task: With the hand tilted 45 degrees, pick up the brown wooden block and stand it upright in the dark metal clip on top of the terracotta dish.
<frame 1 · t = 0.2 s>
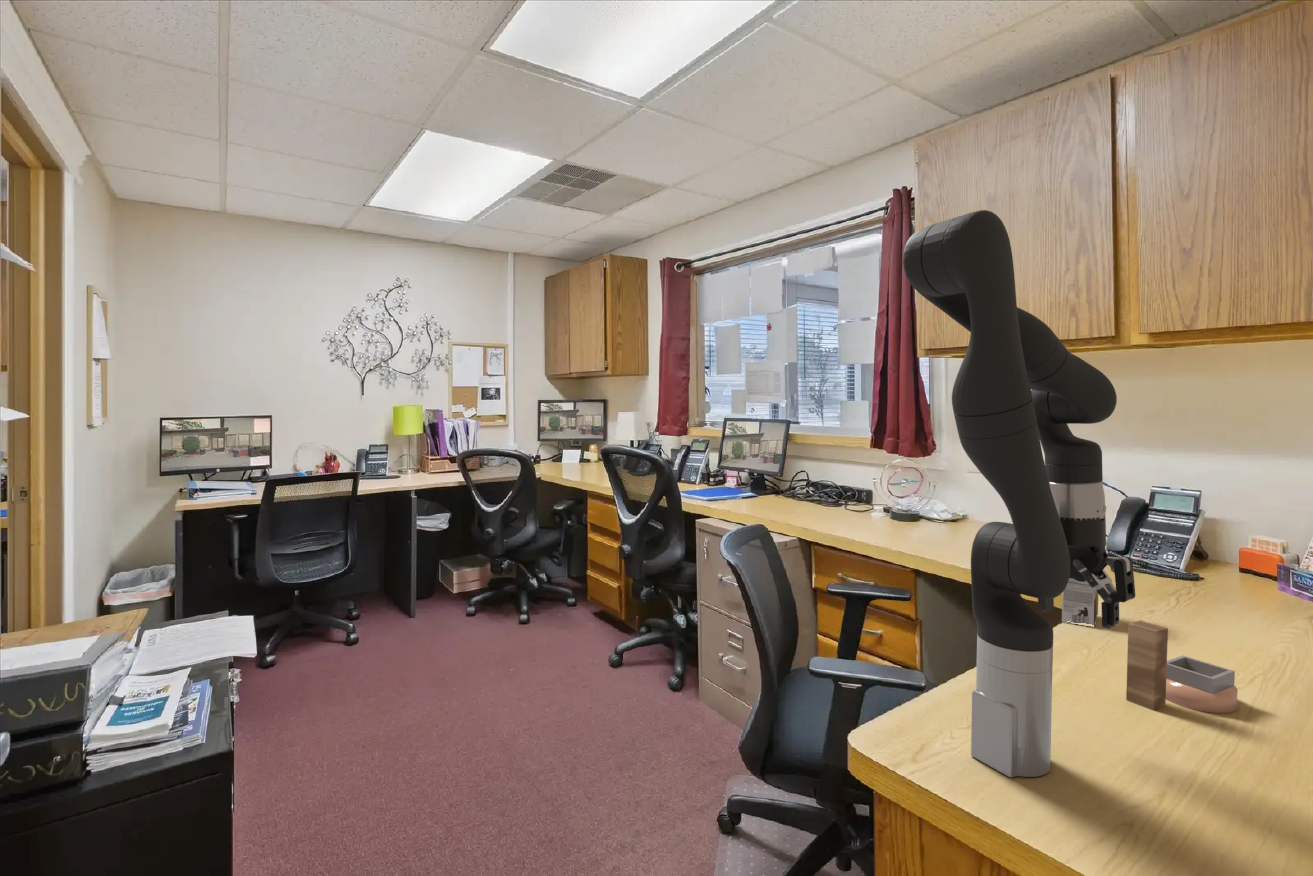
hand: (1077, 618, 94), 18 cm above the table, tool pointing down, fingers open, 8 cm apart
brown wooden block: (1145, 702, 104), on the table
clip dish: (1196, 698, 106), on the table
coffee box: (1079, 620, 144), on the table
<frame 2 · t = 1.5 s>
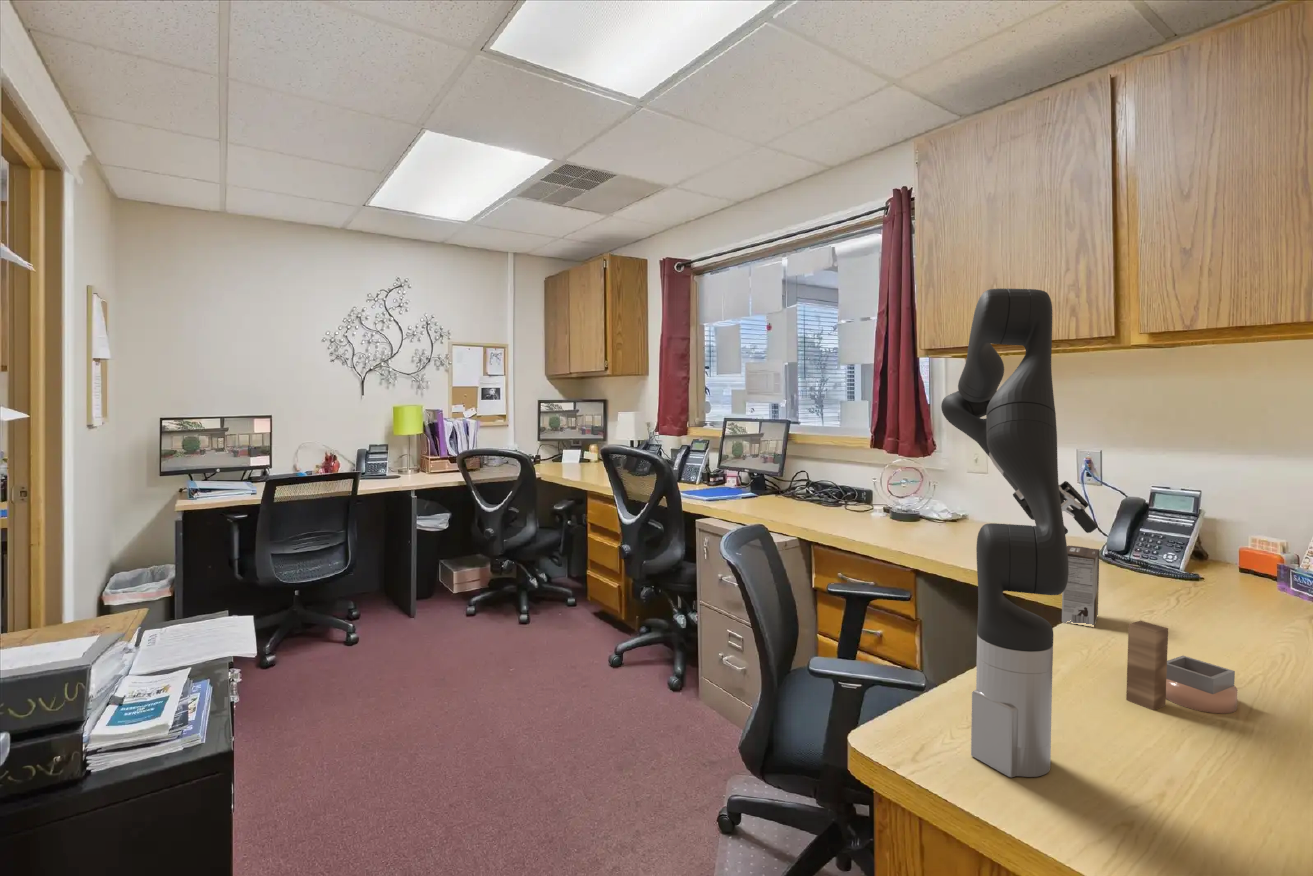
hand: (1078, 532, 113), 26 cm above the table, tool tilted 45°, fingers open, 8 cm apart
nothing on the table moved.
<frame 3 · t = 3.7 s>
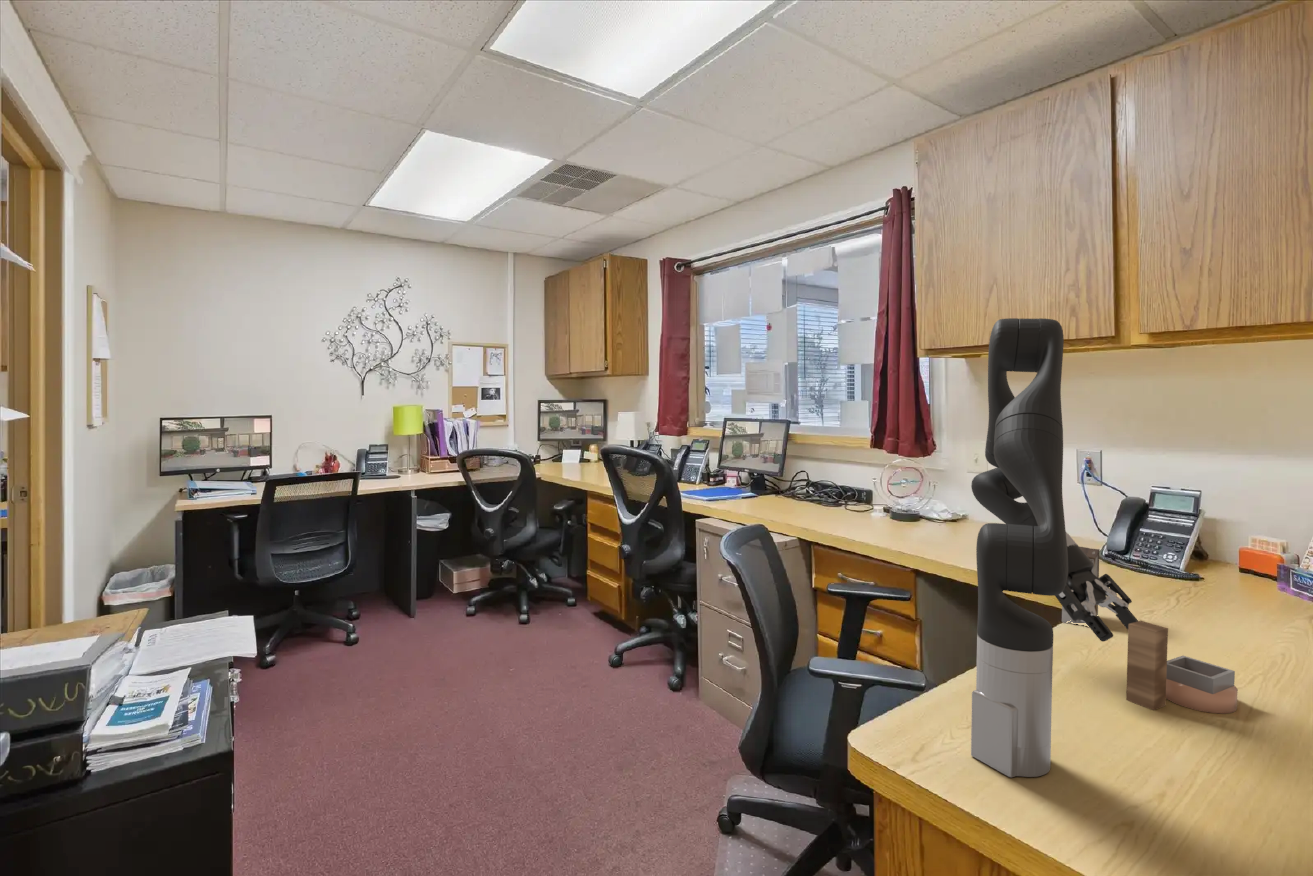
hand: (1123, 635, 107), 10 cm above the table, tool tilted 45°, fingers open, 8 cm apart
nothing on the table moved.
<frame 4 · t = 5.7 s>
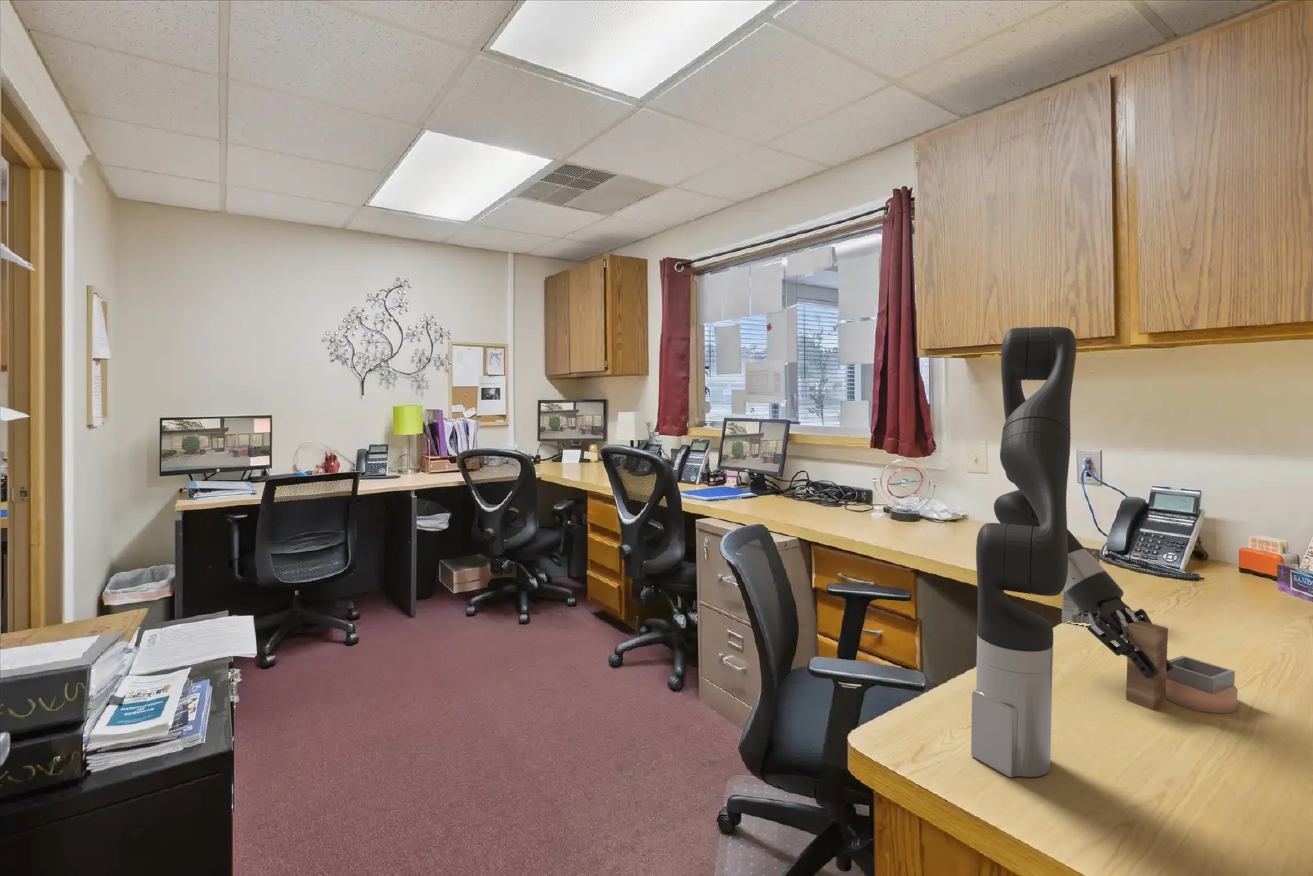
hand: (1160, 673, 102), 6 cm above the table, tool tilted 45°, fingers closed on brown wooden block, 3 cm apart
brown wooden block: (1145, 702, 104), on the table, touching gripper
everything else where it was.
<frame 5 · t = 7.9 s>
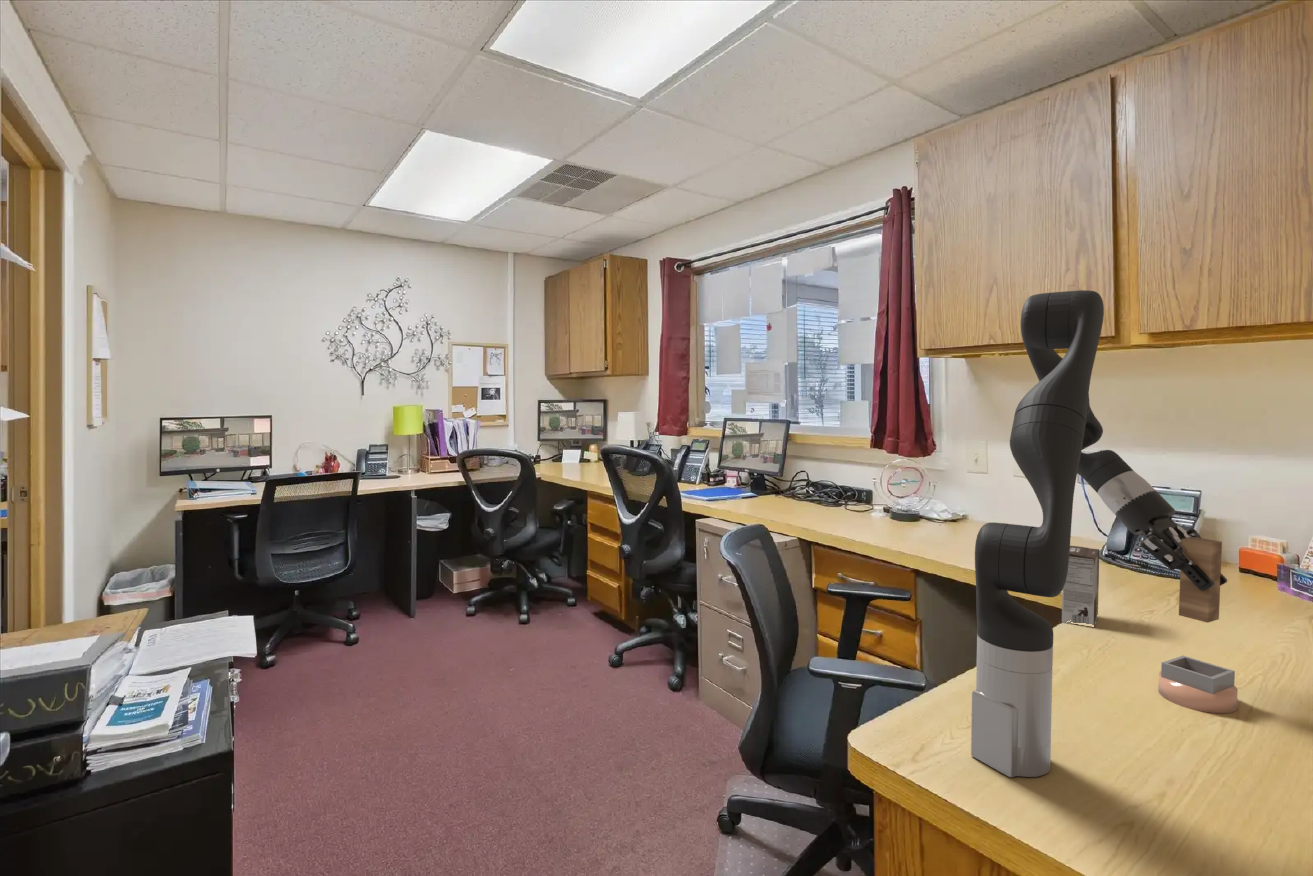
hand: (1214, 586, 103), 20 cm above the table, tool tilted 45°, fingers closed on brown wooden block, 3 cm apart
brown wooden block: (1198, 617, 105), point 14 cm above the table, touching gripper
everything else where it was.
when the fingers open (10 cm above the table, at t = 10.4 s): brown wooden block drops 1 cm, resting on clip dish.
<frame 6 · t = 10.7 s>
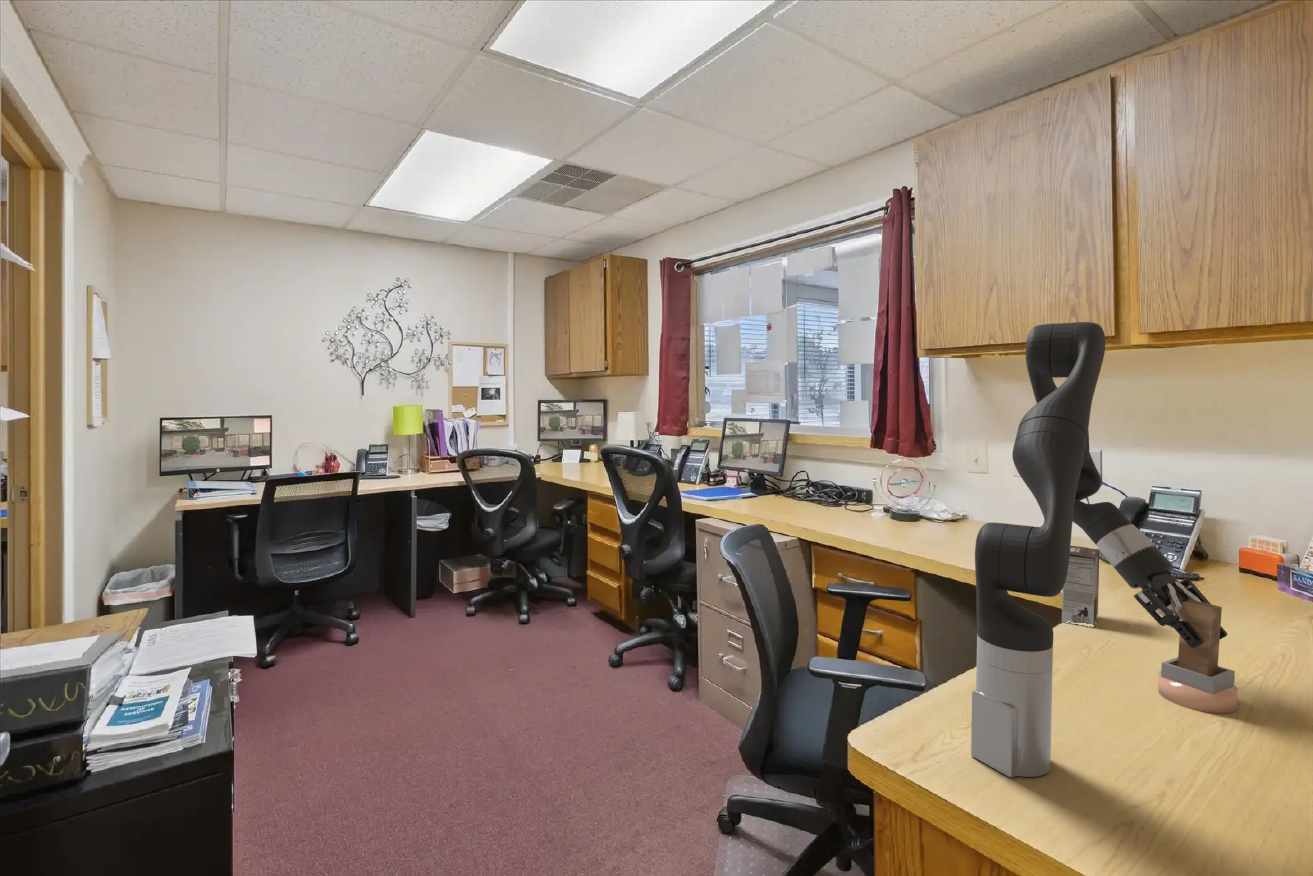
hand: (1210, 641, 104), 10 cm above the table, tool tilted 45°, fingers open, 6 cm apart
brown wooden block: (1196, 680, 105), point 3 cm above the table, touching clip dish
everything else where it was.
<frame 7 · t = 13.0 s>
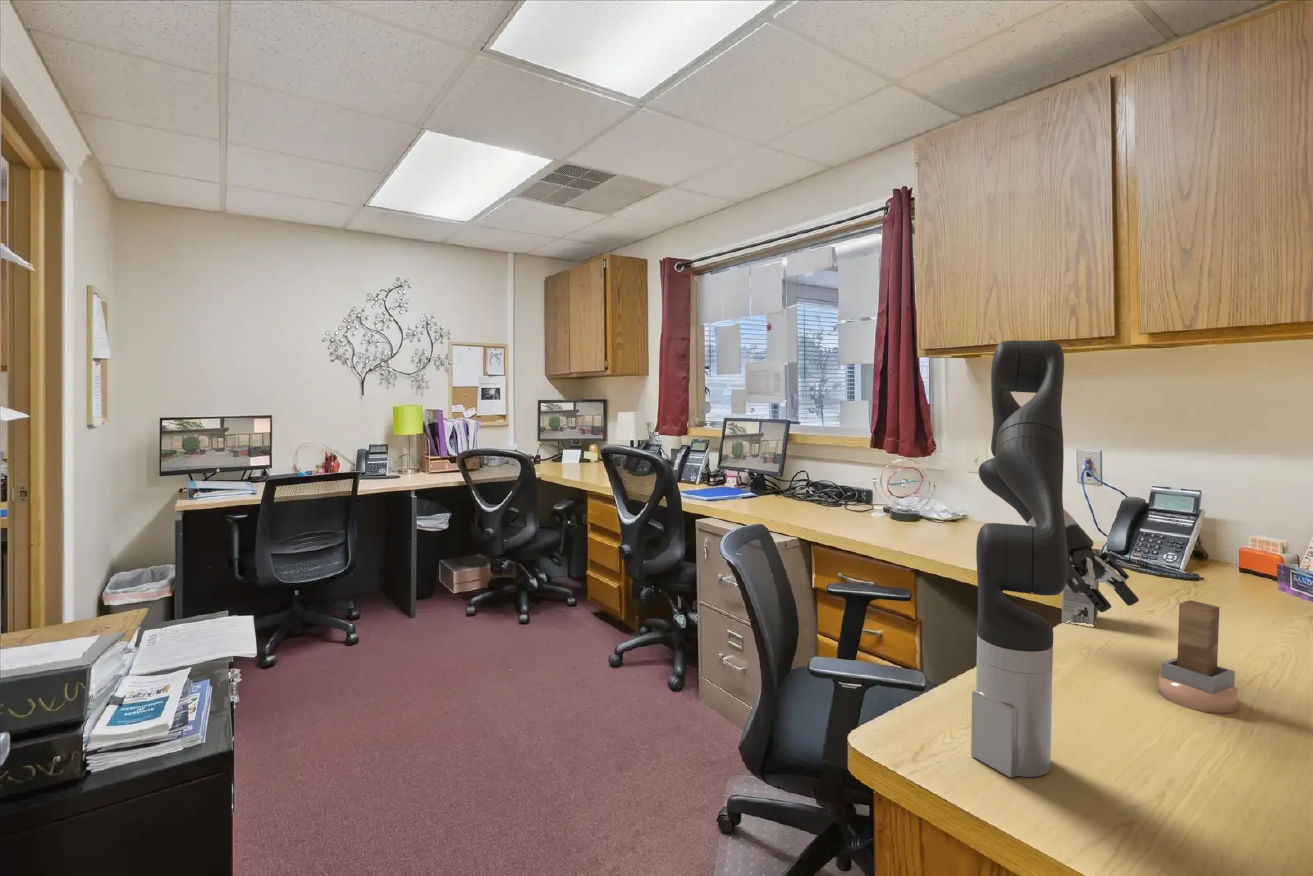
hand: (1120, 606, 115), 12 cm above the table, tool tilted 45°, fingers open, 8 cm apart
nothing on the table moved.
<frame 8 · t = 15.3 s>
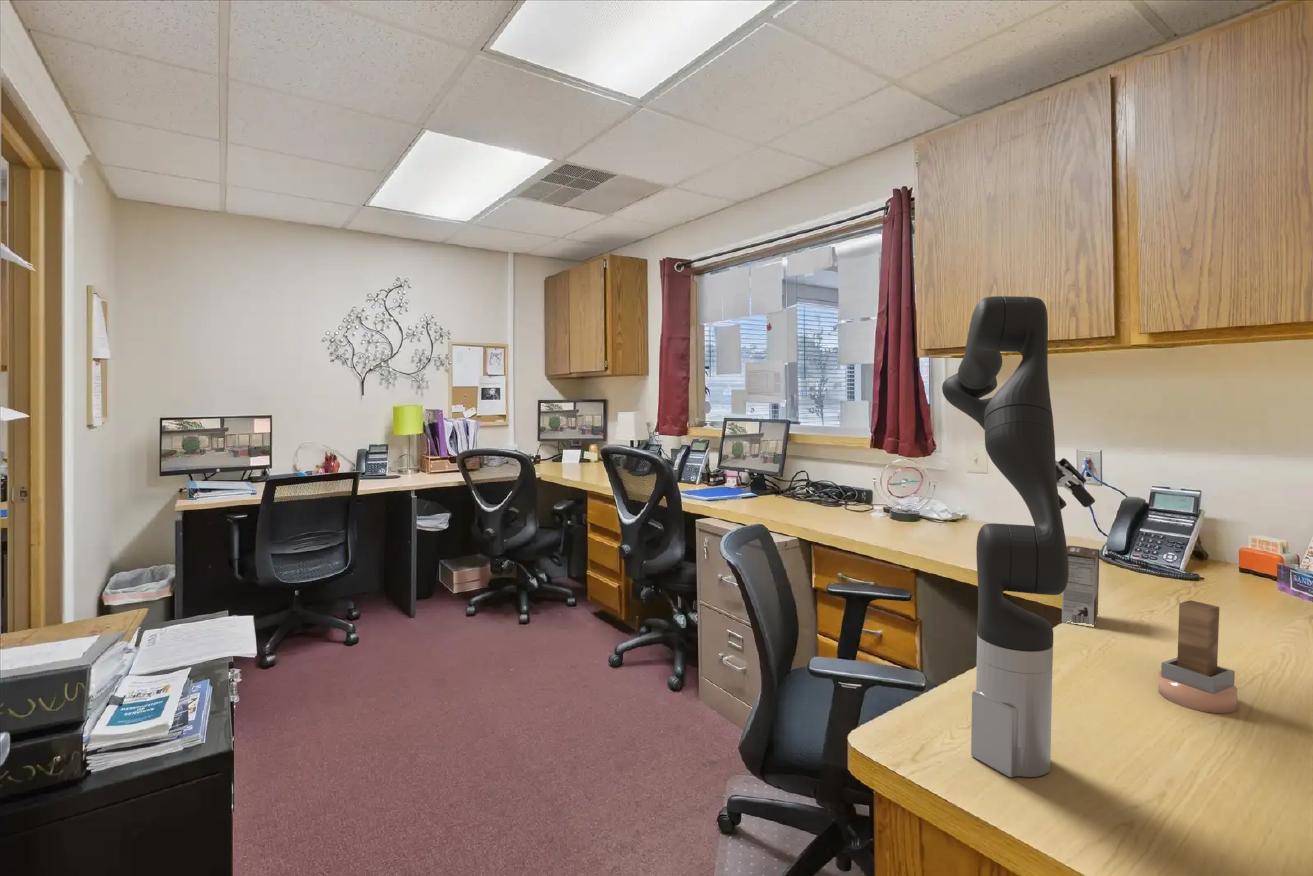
hand: (1076, 506, 116), 31 cm above the table, tool tilted 45°, fingers open, 8 cm apart
nothing on the table moved.
at the end: brown wooden block 0.1 cm off-centre on the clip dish, point 3.0 cm above the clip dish's base; brown wooden block tilted 0°; the gripper is holding nothing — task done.
